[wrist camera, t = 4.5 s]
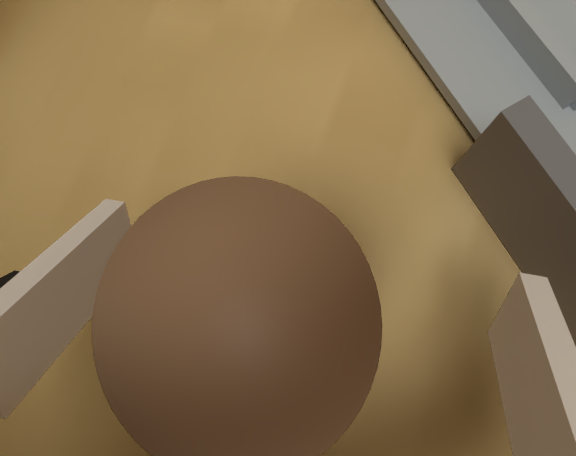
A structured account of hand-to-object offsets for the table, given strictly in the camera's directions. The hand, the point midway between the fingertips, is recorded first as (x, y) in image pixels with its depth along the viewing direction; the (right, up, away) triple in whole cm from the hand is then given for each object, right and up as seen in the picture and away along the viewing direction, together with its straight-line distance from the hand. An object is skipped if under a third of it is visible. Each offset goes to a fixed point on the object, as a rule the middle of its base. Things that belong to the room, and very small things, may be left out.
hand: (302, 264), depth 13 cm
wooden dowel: (0, -2, +5) cm, 5 cm away
